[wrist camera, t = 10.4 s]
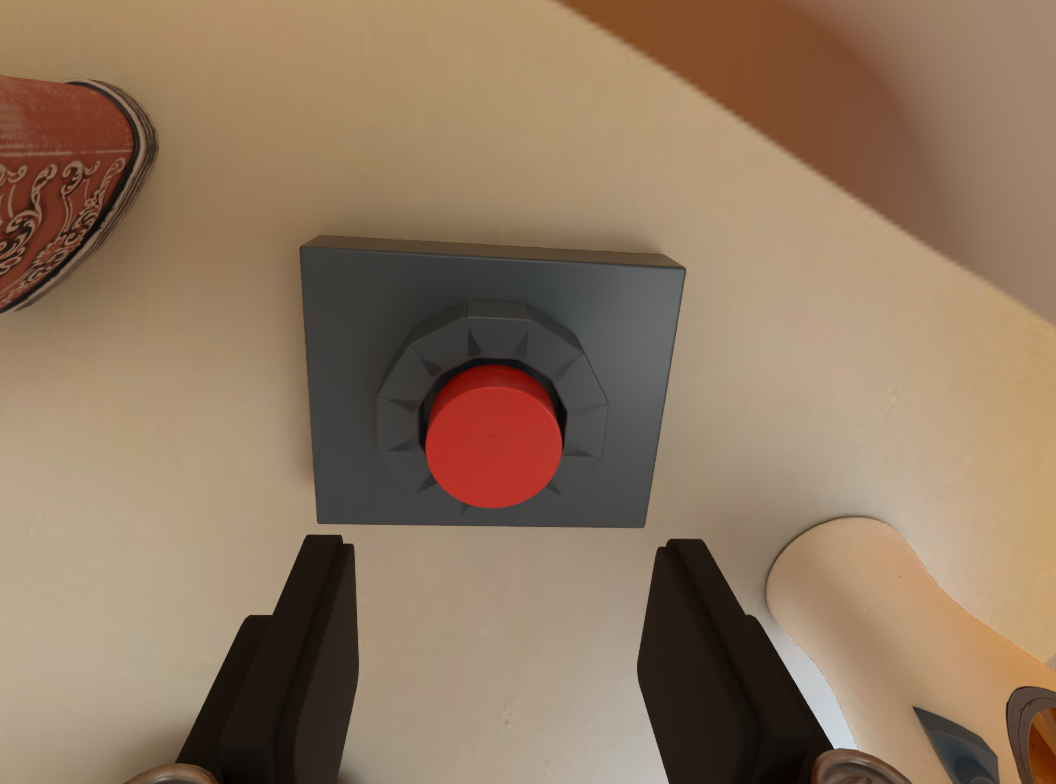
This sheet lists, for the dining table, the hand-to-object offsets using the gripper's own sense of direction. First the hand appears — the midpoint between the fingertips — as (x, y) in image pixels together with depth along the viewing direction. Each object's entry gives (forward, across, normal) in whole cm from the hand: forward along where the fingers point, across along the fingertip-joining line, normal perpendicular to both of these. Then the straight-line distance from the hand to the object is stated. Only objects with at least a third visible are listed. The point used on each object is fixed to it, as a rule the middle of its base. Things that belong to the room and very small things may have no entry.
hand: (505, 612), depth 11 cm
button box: (+11, 0, 0) cm, 11 cm away
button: (+8, 0, 0) cm, 8 cm away
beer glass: (+12, -15, +8) cm, 20 cm away
